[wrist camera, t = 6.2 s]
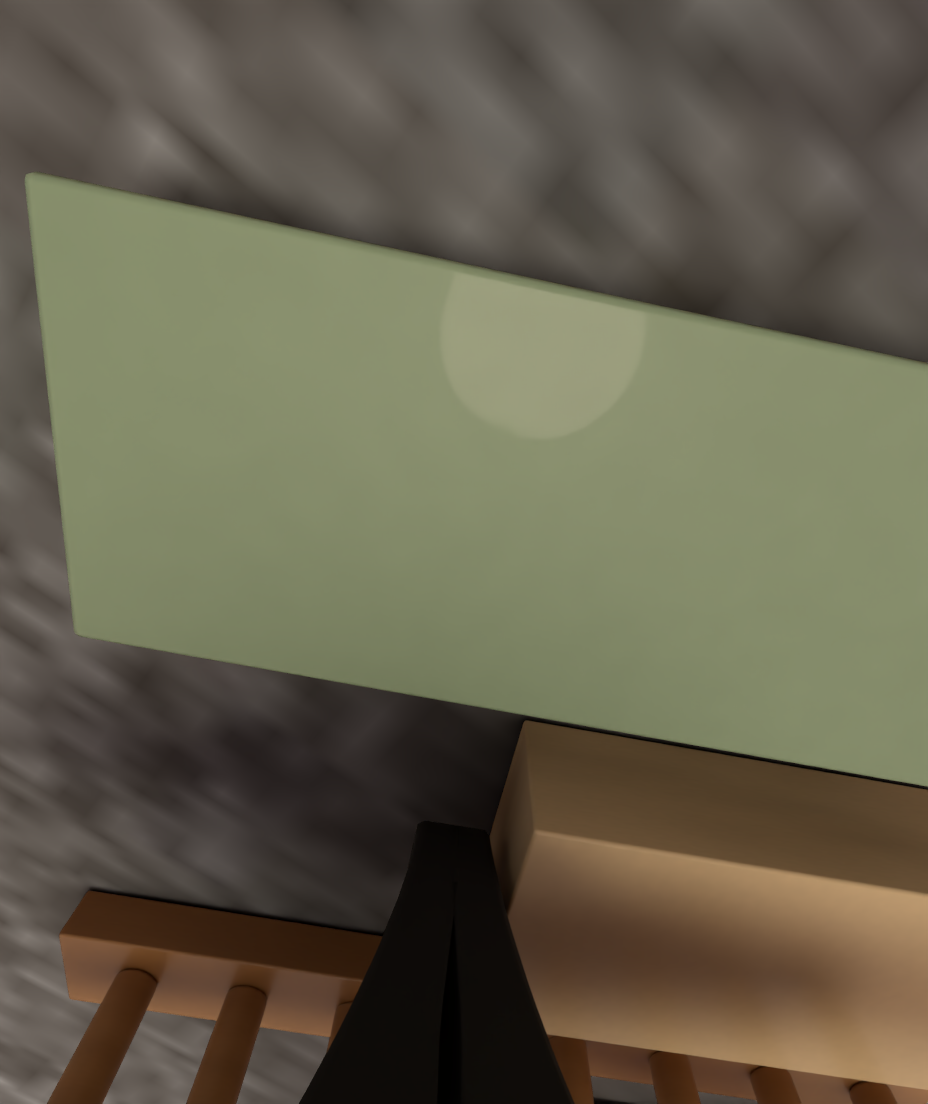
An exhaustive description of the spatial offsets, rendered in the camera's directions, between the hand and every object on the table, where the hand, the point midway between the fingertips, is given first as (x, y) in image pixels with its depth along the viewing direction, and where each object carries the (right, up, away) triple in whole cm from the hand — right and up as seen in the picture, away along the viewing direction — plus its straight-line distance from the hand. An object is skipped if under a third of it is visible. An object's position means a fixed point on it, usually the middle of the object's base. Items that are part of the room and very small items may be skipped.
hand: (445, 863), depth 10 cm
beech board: (+8, -1, +1) cm, 8 cm away
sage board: (+3, +6, -2) cm, 7 cm away
